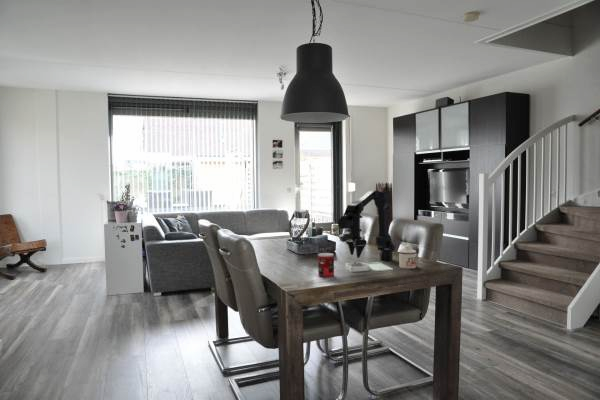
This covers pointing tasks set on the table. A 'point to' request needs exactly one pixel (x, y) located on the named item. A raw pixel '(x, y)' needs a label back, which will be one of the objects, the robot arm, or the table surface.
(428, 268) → the table surface
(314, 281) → the table surface
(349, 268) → the open box
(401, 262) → the teacup with lid
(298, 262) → the table surface
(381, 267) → the tray
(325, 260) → the canned food
